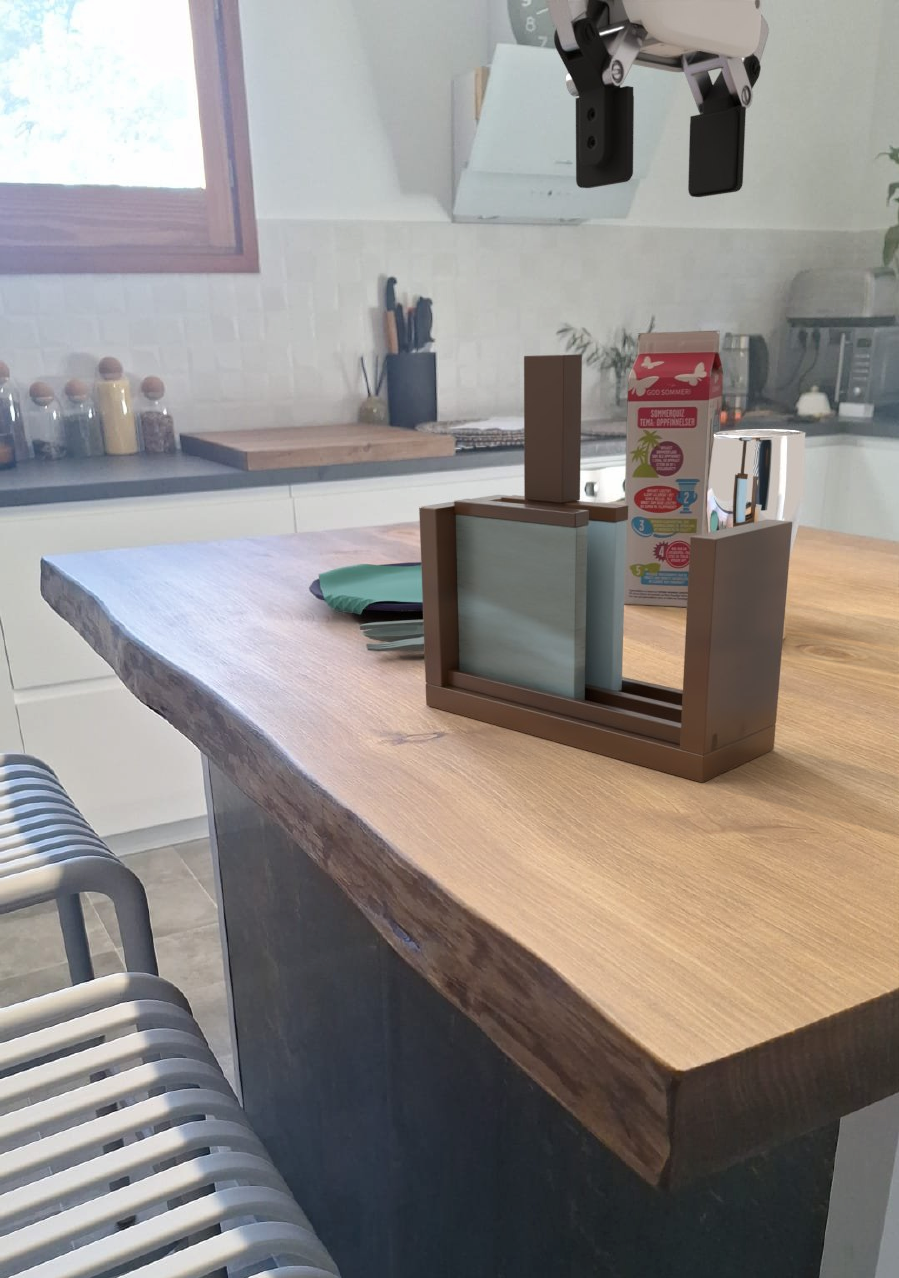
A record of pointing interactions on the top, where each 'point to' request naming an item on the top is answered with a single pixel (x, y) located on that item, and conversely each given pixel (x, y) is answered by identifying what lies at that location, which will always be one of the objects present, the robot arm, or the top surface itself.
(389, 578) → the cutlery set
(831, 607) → the top surface
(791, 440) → the beer glass
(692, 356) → the juice carton
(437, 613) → the window frame
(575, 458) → the sash
